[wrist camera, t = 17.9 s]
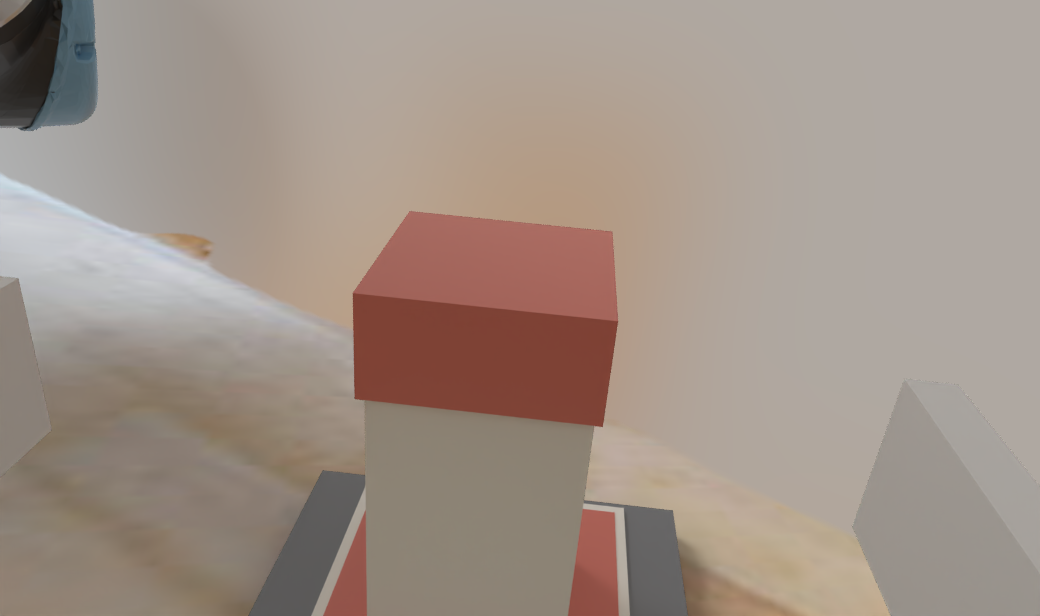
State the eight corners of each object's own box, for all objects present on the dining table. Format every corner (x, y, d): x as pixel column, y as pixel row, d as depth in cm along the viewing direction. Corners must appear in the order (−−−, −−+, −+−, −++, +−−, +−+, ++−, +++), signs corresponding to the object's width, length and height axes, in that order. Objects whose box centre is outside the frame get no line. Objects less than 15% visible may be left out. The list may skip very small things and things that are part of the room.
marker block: (404, 531, 30) (409, 211, 25) (569, 551, 30) (612, 231, 24) (359, 671, 24) (352, 293, 19) (563, 697, 24) (618, 321, 18)
